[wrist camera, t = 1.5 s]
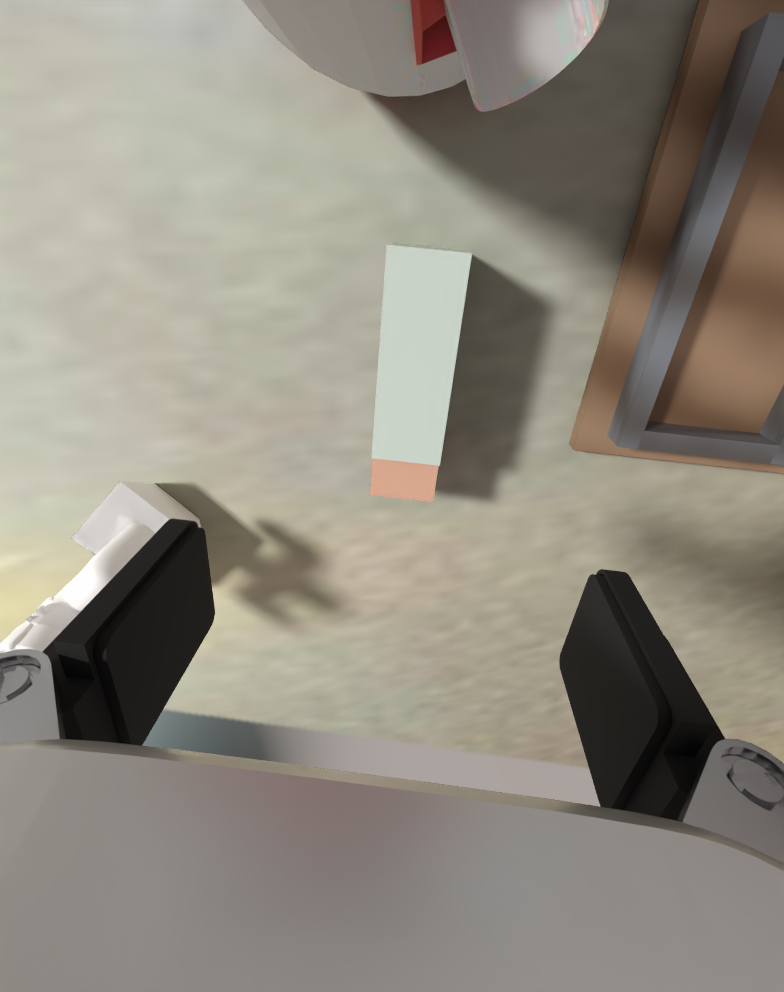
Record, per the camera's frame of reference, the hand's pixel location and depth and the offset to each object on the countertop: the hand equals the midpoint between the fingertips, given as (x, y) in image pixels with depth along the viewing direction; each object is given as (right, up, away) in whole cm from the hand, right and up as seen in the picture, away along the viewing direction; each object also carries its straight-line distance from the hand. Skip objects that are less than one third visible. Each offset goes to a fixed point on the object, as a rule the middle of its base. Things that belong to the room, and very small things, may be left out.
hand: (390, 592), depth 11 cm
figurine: (-18, +1, +27) cm, 32 cm away
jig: (+20, +15, +15) cm, 29 cm away
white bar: (+2, +11, +19) cm, 22 cm away
